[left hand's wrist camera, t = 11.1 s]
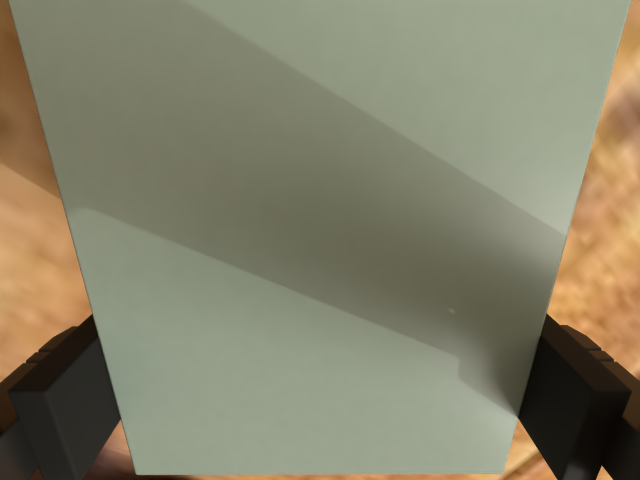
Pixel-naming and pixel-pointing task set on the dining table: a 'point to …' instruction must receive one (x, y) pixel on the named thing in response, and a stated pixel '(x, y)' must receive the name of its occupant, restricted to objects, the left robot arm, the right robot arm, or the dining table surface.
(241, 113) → the pale green rectangular box
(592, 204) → the dining table surface
